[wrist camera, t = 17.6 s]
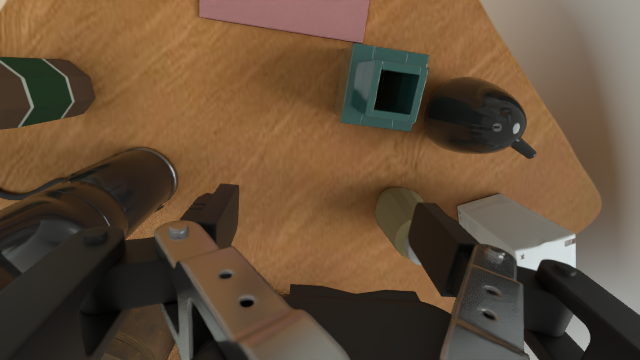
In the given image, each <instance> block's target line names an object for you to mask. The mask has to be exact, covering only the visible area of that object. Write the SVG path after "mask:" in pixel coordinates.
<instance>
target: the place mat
mask: <svg viewBox="0 0 640 360" xmlns="http://www.w3.org/2000/svg"><path fill="white" fill-rule="evenodd" d="M369 2H370V0H199V17H201V18H207V19H213V20H219V21H226V22H232V23H238V24H244V25H250V26H257V27H263V28H269V29H275V30H281V31H287V32H294V33H300V34H306V35H312V36H318V37H325V38H331V39H337V40H343V41H349V42H356V43H363V37H364V31H365V26H366V20H367V14H368V8H369Z"/></svg>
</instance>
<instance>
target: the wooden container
mask: <svg viewBox="0 0 640 360" xmlns="http://www.w3.org/2000/svg"><path fill="white" fill-rule="evenodd" d="M175 343H176V342H175V340H174V338H173V336H172V334H171V331H170V329H169V327H168V325H167V322H166V320H165V318H164V316H163V313H162V311H161V309H160V306H159V304H155V305H149V306H144V307H138V308H133V309H131V311H130V313H129V315H128V316H127V318H126V320H125V321H124V323H123V325H122V326H121V328H120V329H119V331H118V333H117V334H116V336H115V337H114V339H113V341H112V342H111V344H110V346H109V347H108V349H107V350H106V352H105V354H104V355H103V357H102V358H101V360H167V359H168V356H169V354H170V352H171V351H172V349H173V347H174V345H175Z"/></svg>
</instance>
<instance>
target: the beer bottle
mask: <svg viewBox="0 0 640 360" xmlns="http://www.w3.org/2000/svg"><path fill="white" fill-rule="evenodd" d="M94 99H95V95H94V91H93V88H92V84H91V80H90V77H89V76H88V75H86V74H85V73H84V72H83V71H81V70H80V69H79V68H78V67H76V66H75V65H74V64H73V63H71V62H70V61H67V60H59V59H37V58H15V57H0V129H9V128H17V127H22V126H27V125H32V124H37V123H42V122H47V121H53V120H58V119H63V118H68V117H73V116H77V115H80V114H84V113H85V111H86V110H87V108H88V107H89V106H90V104H91V103H92V102H93V100H94Z"/></svg>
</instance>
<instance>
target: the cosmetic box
mask: <svg viewBox="0 0 640 360" xmlns="http://www.w3.org/2000/svg"><path fill="white" fill-rule="evenodd" d="M457 209H458V217H459V224H460V225H461V226H462V228H465V229H466V230H467V231H468V233H470V234H471V235H472V236H473V237H474V238H475V239H476V240H477V241H478V242H479V243H480V244H488V245H492V246H495V247H498V248H501V249H503V250H505V251H506V252H508V253H510V254H511V255H512V256H513V257H514V258H515V259H516V261H517V266H521V267H525V268H529V269H533V270H537V268H538V266H539V264H540V262H541V260H544V259H551V260H556V261H559V262H563V263H566V264H569V265H571V266H572V267H574V268H575V266H576V259H575V233H573V232H571V231H569V230H567V229H565V228H564V227H562V226H560V225H558V224H556V223H554V222H552V221H550V220H549V219H547V218H545V217H543V216H541V215H539V214H538V213H536V212H534V211H532V210H530V209H528V208H526V207H525V206H523V205H521V204H519V203H517V202H515V201H514V200H512V199H510V198H508V197H506V196H504V195H503V194H501V193H500V194H497V195H493V196H490V197H486V198H483V199H479V200H476V201H472V202H469V203H466V204H462V205H458V206H457Z"/></svg>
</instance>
